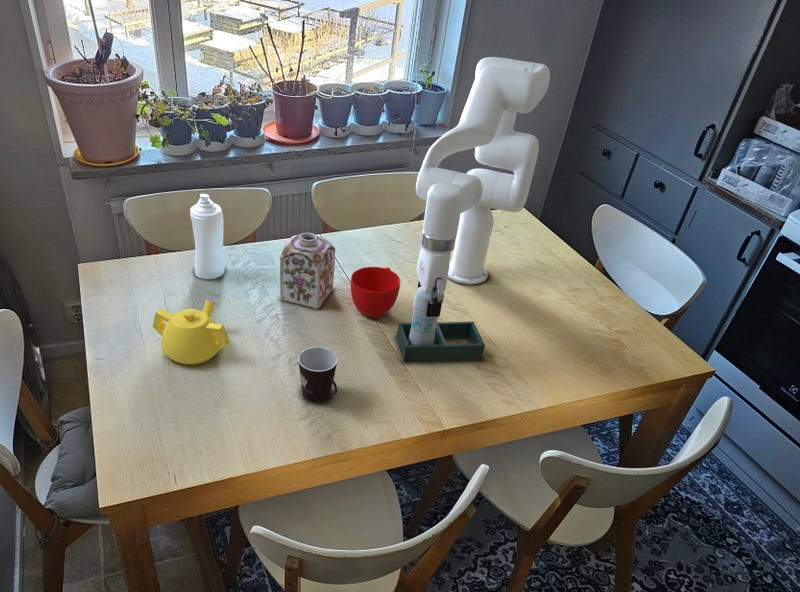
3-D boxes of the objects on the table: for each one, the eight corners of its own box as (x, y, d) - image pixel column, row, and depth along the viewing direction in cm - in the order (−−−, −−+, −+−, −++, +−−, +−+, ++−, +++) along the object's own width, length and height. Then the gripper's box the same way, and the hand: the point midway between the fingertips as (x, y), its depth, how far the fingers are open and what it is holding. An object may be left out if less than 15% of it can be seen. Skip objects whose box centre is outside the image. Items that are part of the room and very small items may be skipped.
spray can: (238, 272, 184) (234, 191, 169) (214, 288, 177) (207, 204, 162) (207, 260, 189) (200, 180, 174) (183, 275, 182) (173, 193, 166)
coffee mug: (296, 381, 147) (297, 347, 141) (333, 380, 148) (335, 346, 141) (299, 416, 138) (300, 381, 131) (338, 415, 138) (341, 380, 132)
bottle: (432, 358, 155) (445, 289, 143) (405, 354, 156) (415, 285, 144) (434, 343, 161) (446, 274, 148) (407, 339, 162) (418, 270, 149)
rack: (396, 337, 162) (398, 323, 159) (470, 335, 164) (473, 321, 161) (404, 362, 154) (406, 347, 151) (481, 359, 156) (485, 345, 153)
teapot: (249, 333, 161) (247, 297, 154) (216, 376, 147) (213, 338, 140) (178, 316, 166) (174, 280, 159) (140, 356, 152) (134, 319, 145)
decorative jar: (278, 300, 174) (278, 241, 162) (295, 280, 182) (296, 222, 171) (319, 310, 170) (321, 250, 159) (334, 289, 179) (338, 231, 168)
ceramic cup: (407, 298, 177) (412, 267, 170) (386, 330, 164) (390, 297, 158) (364, 287, 181) (367, 256, 174) (340, 316, 168) (343, 284, 162)
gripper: (413, 222, 146) (405, 285, 157) (430, 260, 133) (420, 326, 144) (445, 221, 147) (435, 284, 158) (465, 259, 134) (452, 325, 144)
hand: (427, 304), depth 151 cm, fingers open, 9 cm apart
